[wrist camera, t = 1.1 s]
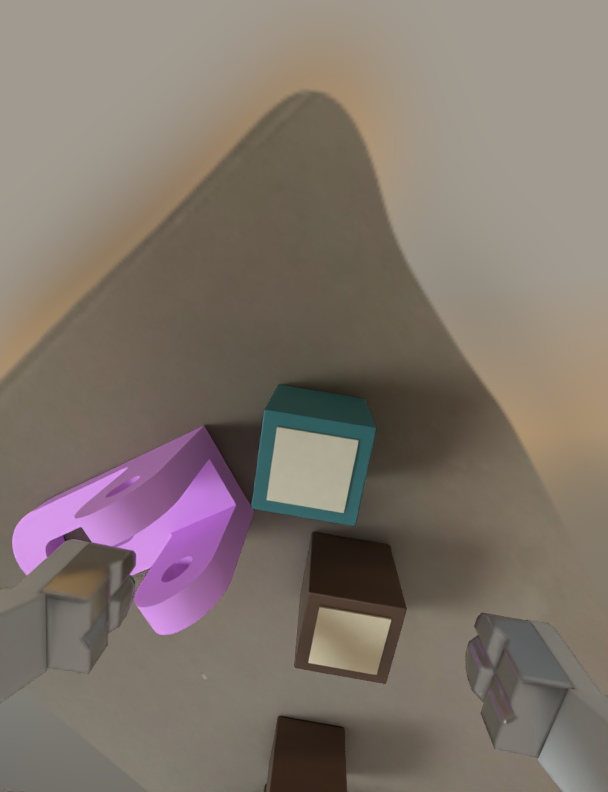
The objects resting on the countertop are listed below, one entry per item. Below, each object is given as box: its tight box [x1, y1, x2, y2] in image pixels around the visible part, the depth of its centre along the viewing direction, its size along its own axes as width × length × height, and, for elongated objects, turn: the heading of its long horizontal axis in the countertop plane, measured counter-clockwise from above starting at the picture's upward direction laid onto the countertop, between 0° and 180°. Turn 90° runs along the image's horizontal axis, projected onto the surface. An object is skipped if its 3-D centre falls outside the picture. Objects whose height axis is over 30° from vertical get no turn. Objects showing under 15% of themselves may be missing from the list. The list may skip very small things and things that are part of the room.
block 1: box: [266, 717, 347, 792], centre depth 22 cm, size 4×4×4 cm
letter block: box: [251, 385, 377, 526], centre depth 17 cm, size 4×4×4 cm
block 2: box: [294, 532, 407, 684], centre depth 19 cm, size 4×4×4 cm
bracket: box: [12, 426, 254, 635], centre depth 17 cm, size 13×6×7 cm, turn 116°
